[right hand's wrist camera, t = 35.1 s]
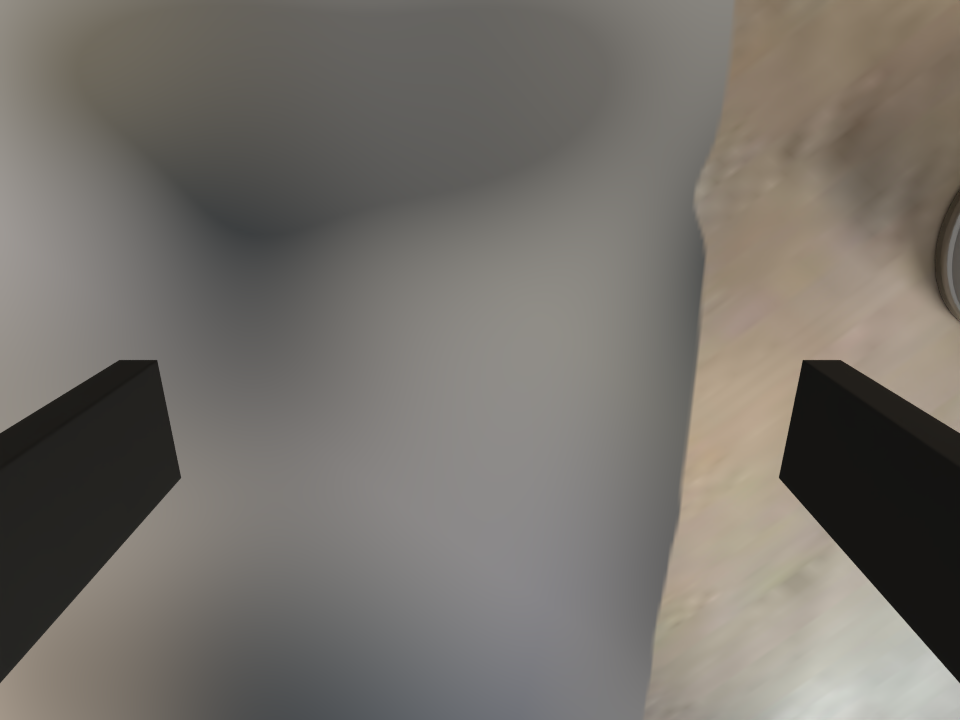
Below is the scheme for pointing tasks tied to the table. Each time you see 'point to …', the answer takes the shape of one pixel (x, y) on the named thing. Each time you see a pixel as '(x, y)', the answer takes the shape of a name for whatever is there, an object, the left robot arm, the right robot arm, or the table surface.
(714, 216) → the table surface
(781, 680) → the table surface
